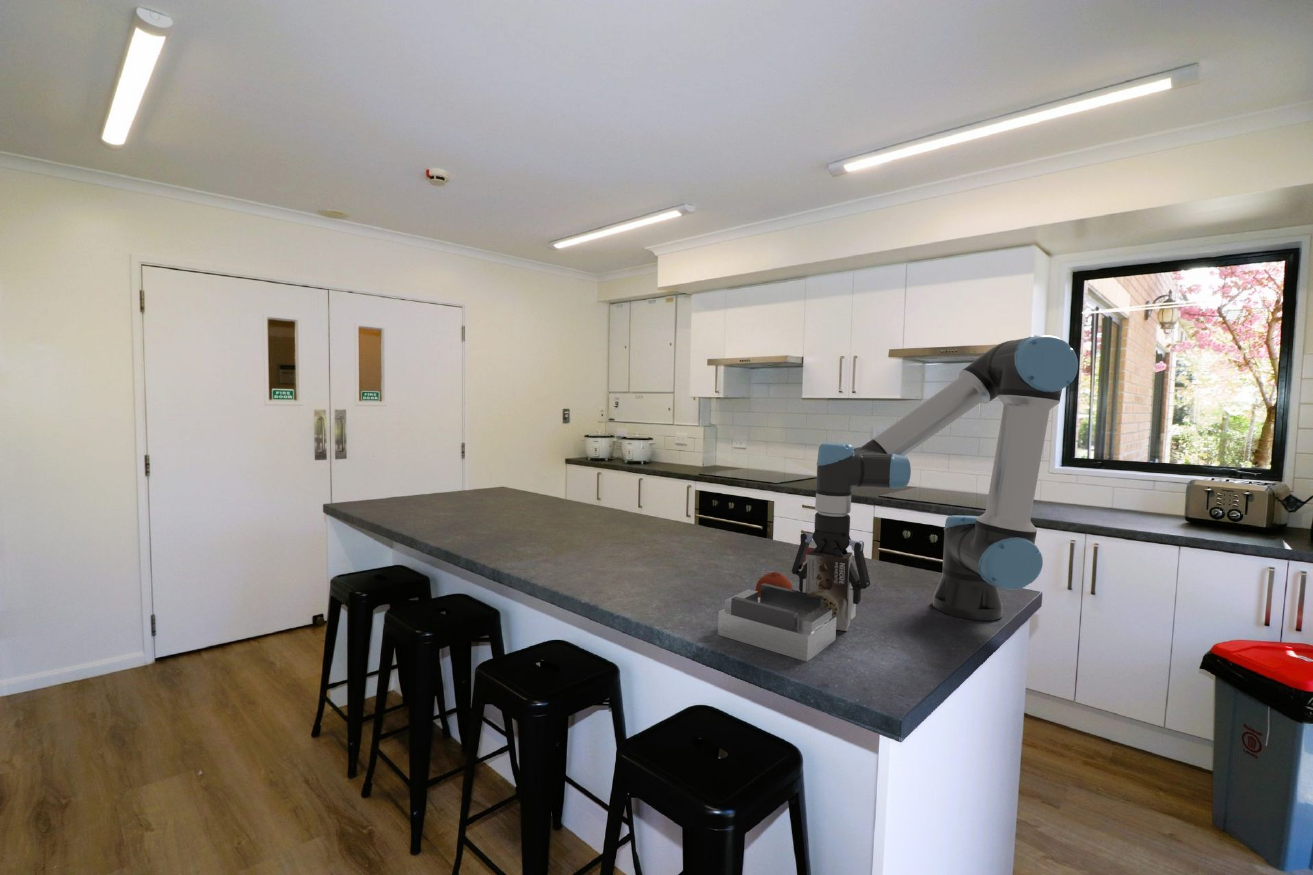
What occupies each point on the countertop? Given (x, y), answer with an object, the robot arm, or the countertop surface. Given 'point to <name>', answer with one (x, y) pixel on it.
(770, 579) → the fruit
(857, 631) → the countertop surface
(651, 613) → the countertop surface
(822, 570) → the coffee box
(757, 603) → the grey tray box
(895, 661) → the countertop surface
